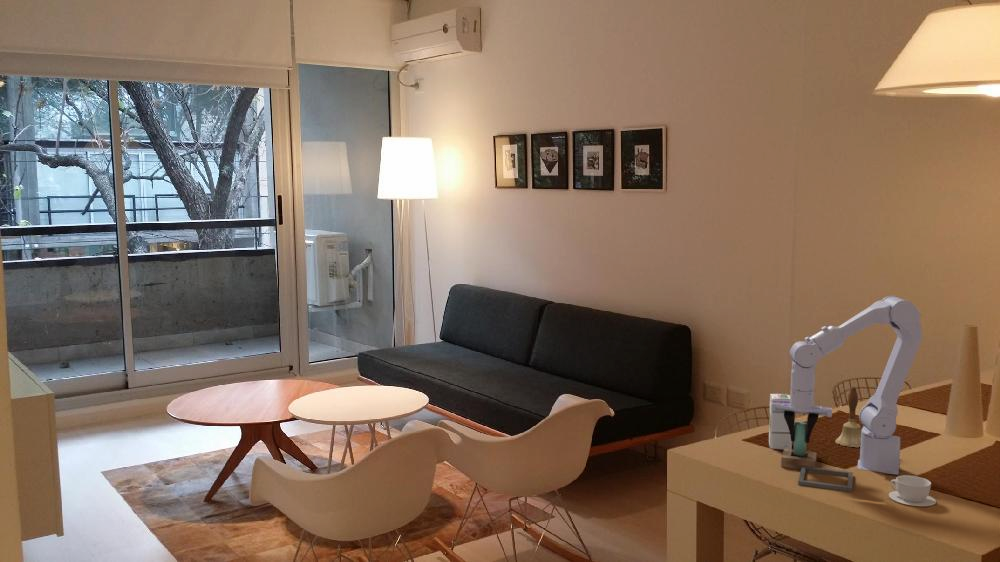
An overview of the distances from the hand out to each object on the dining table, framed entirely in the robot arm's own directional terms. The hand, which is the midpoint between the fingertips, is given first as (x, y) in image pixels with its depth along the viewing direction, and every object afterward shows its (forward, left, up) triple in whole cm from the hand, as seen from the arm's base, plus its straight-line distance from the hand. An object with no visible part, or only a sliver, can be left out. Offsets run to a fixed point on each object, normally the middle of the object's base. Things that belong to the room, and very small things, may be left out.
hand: (800, 441), depth 227 cm
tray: (-7, +10, -7) cm, 14 cm away
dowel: (0, 0, -3) cm, 3 cm away
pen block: (0, 0, -7) cm, 7 cm away
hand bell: (-12, -26, -7) cm, 29 cm away
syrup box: (+6, -14, -7) cm, 17 cm away
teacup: (-26, +14, -7) cm, 30 cm away
